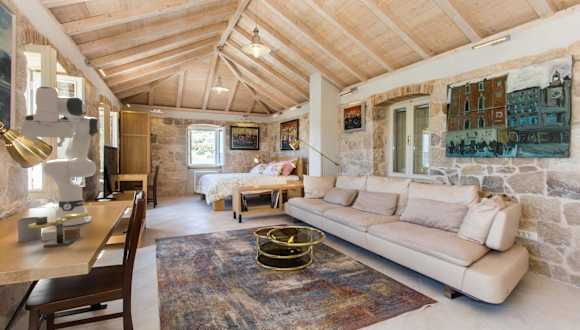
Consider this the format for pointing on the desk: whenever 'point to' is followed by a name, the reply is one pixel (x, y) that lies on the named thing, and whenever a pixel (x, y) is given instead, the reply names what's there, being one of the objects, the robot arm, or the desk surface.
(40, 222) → the balance
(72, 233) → the walnut block
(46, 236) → the grey stone block
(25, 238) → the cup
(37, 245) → the desk surface
